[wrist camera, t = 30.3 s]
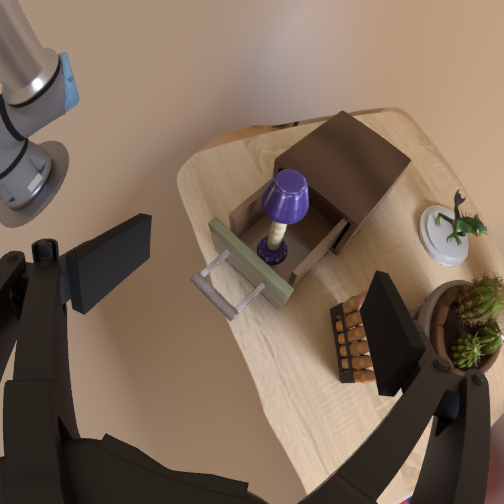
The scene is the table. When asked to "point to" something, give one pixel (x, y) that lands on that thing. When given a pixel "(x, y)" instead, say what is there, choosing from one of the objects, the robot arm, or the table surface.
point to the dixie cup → (503, 318)
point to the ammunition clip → (348, 363)
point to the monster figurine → (448, 233)
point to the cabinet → (346, 169)
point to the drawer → (253, 267)
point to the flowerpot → (464, 322)
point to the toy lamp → (282, 212)
